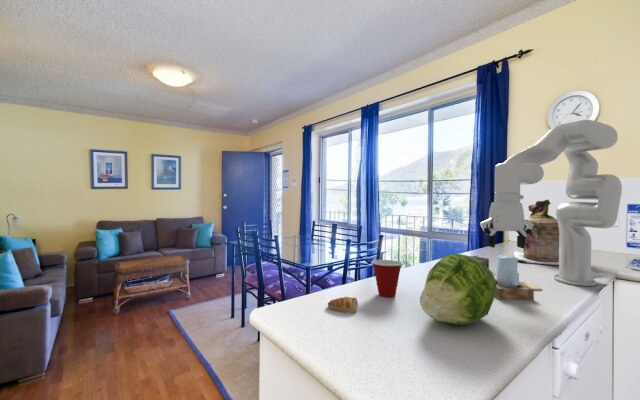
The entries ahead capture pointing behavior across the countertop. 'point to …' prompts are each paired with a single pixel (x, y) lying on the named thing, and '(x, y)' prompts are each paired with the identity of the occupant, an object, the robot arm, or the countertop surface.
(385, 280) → the plastic cup
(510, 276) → the pale blue pipe tee
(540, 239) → the cookie jar
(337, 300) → the pastry
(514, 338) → the countertop surface
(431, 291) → the lettuce
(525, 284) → the mat
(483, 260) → the beverage carton
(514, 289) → the cradle
